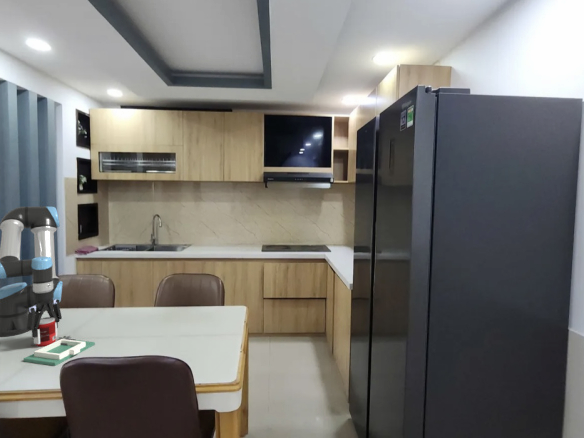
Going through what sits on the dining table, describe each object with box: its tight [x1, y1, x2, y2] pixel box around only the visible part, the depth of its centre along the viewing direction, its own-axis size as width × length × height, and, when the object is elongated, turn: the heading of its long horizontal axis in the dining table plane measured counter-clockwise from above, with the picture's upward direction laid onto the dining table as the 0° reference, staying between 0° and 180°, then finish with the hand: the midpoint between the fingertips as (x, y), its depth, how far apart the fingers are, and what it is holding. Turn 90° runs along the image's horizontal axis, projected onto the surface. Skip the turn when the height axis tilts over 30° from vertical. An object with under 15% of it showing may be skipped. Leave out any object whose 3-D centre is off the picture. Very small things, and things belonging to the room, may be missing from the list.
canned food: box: [35, 316, 57, 348], centre depth 158 cm, size 8×8×11 cm
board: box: [23, 337, 96, 367], centre depth 149 cm, size 18×20×3 cm
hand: (45, 339), depth 158 cm, fingers closed on canned food, 8 cm apart
